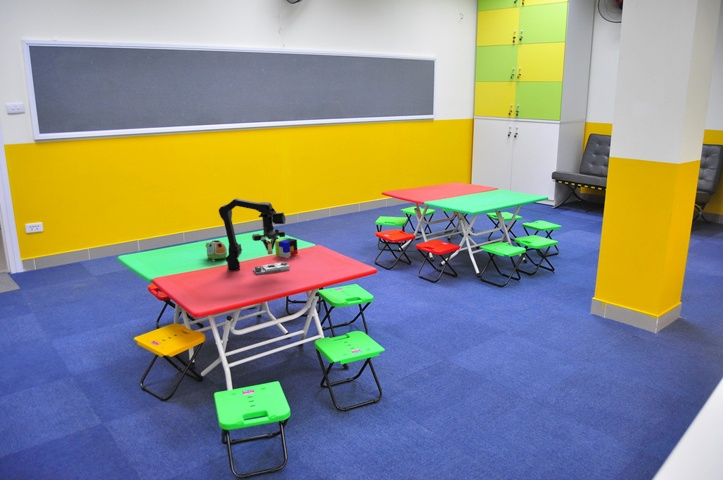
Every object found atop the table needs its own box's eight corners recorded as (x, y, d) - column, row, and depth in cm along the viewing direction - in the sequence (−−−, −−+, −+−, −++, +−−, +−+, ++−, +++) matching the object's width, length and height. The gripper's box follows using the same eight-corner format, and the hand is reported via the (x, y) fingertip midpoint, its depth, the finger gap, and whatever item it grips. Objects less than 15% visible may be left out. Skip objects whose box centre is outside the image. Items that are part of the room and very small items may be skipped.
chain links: (256, 274, 335) (256, 269, 334) (253, 270, 343) (252, 265, 342) (289, 269, 343) (289, 264, 342) (285, 265, 351) (284, 261, 350)
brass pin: (268, 254, 339) (267, 241, 337) (267, 253, 341) (265, 240, 339) (273, 253, 340) (272, 240, 338) (271, 252, 343) (270, 239, 340)
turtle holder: (217, 253, 381) (215, 236, 378) (231, 258, 369) (229, 241, 365) (200, 257, 373) (198, 240, 370) (214, 263, 360) (212, 245, 357)
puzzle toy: (286, 258, 367) (286, 243, 364) (275, 255, 373) (274, 240, 370) (297, 254, 375) (296, 239, 372) (286, 252, 381) (285, 237, 378)
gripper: (255, 229, 325) (258, 255, 329) (287, 224, 333) (289, 250, 337) (250, 225, 335) (253, 250, 339) (281, 221, 342) (283, 246, 346)
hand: (269, 249), depth 340 cm, fingers closed on brass pin, 3 cm apart
